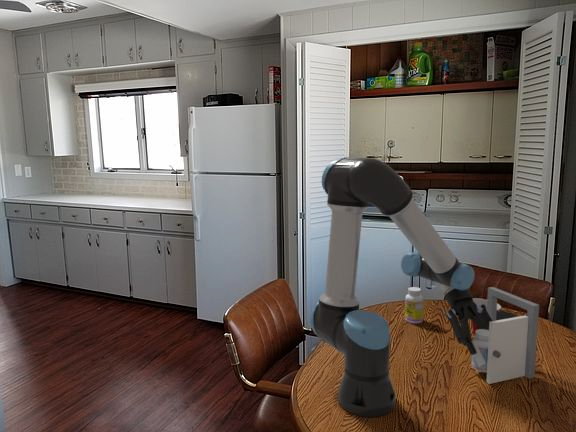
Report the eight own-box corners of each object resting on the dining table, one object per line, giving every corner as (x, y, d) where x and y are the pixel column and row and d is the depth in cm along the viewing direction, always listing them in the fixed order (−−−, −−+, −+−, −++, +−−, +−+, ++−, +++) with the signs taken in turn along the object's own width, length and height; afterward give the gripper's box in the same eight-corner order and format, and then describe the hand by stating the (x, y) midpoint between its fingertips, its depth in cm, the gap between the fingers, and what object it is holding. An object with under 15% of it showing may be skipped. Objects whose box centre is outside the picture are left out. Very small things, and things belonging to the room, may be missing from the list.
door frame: (528, 378, 129) (533, 306, 125) (484, 352, 145) (487, 287, 142) (534, 377, 129) (539, 305, 126) (489, 351, 146) (493, 286, 142)
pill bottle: (489, 363, 134) (491, 328, 133) (496, 373, 128) (498, 336, 127) (468, 362, 135) (470, 327, 133) (474, 372, 129) (475, 336, 127)
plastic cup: (503, 342, 152) (505, 309, 150) (469, 340, 154) (471, 307, 152) (495, 329, 162) (497, 298, 160) (463, 328, 164) (465, 296, 163)
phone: (476, 317, 172) (500, 309, 180) (476, 320, 172) (499, 312, 180) (495, 324, 165) (518, 315, 173) (495, 327, 165) (518, 318, 173)
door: (521, 373, 130) (525, 315, 128) (528, 377, 128) (532, 318, 125) (486, 381, 127) (489, 321, 124) (492, 386, 124) (496, 325, 121)
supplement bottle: (401, 318, 175) (402, 287, 172) (416, 316, 176) (416, 285, 174) (411, 325, 168) (411, 292, 166) (426, 322, 170) (427, 290, 168)
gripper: (474, 292, 146) (510, 361, 134) (424, 300, 141) (457, 373, 128) (486, 281, 141) (525, 352, 128) (435, 289, 135) (471, 364, 122)
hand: (491, 362), depth 128 cm, fingers closed on pill bottle, 6 cm apart
